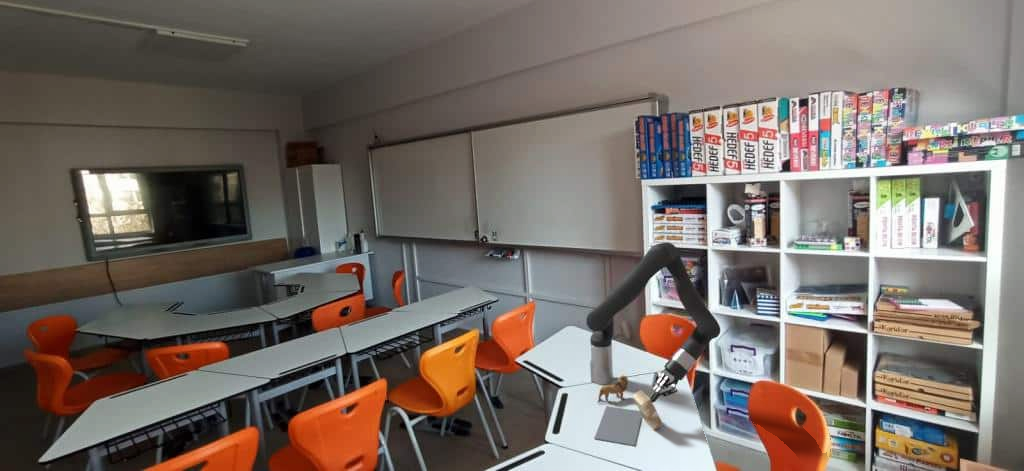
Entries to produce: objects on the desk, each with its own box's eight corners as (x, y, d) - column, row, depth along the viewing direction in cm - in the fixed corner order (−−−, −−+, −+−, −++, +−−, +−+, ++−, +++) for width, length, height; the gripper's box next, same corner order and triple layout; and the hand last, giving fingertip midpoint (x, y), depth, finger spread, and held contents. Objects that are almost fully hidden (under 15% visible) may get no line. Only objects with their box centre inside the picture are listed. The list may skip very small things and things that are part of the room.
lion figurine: (623, 392, 194) (623, 372, 192) (631, 397, 189) (631, 377, 187) (594, 401, 188) (593, 380, 187) (601, 407, 183) (600, 386, 182)
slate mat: (594, 439, 163) (594, 438, 163) (606, 407, 183) (606, 406, 183) (634, 446, 158) (634, 445, 158) (642, 412, 178) (642, 411, 178)
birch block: (654, 430, 166) (641, 405, 163) (644, 420, 172) (632, 395, 170) (663, 424, 166) (650, 399, 163) (653, 414, 173) (641, 389, 170)
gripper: (663, 351, 173) (634, 386, 173) (684, 365, 161) (653, 404, 160) (676, 361, 175) (647, 397, 175) (697, 377, 163) (666, 415, 162)
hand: (650, 400), depth 168 cm, fingers closed
